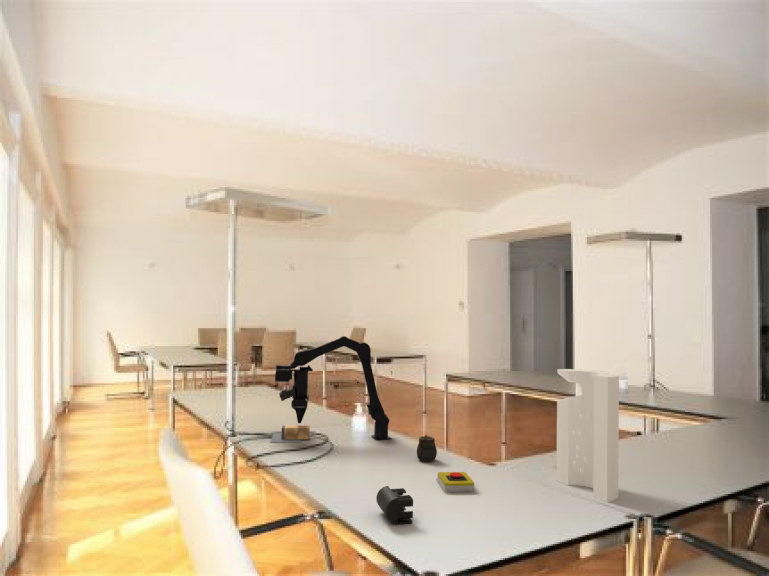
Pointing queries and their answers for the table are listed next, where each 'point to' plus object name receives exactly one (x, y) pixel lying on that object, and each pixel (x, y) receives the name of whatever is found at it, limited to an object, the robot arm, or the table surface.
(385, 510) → the end cap
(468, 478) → the emergency button
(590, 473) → the white notched upright
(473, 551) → the table surface
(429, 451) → the dark lidded jar
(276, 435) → the slate mat
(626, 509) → the table surface
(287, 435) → the oak block
